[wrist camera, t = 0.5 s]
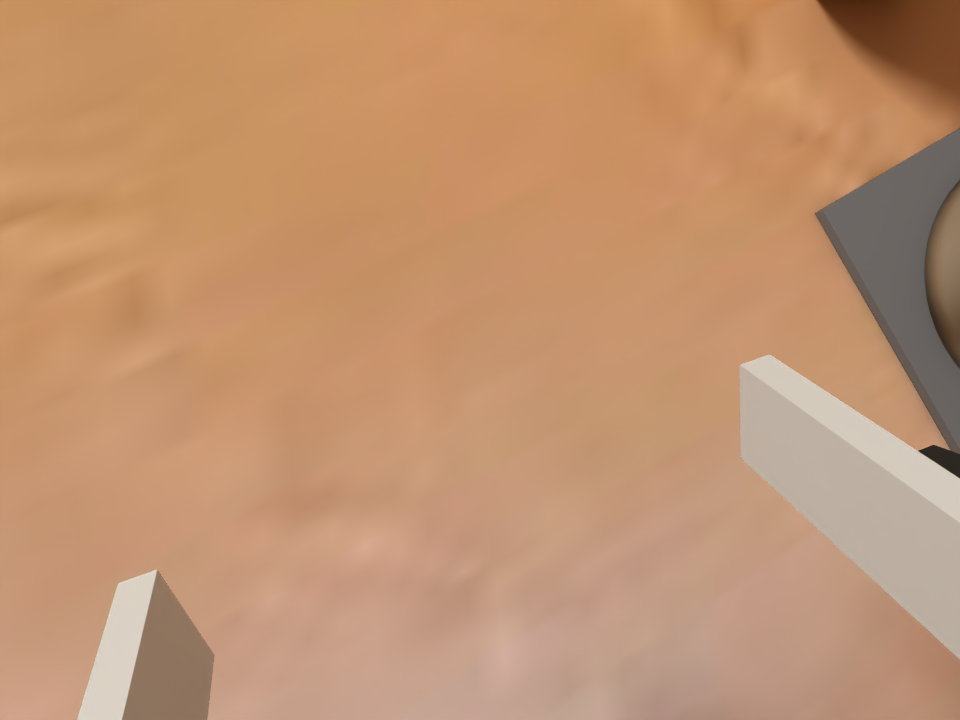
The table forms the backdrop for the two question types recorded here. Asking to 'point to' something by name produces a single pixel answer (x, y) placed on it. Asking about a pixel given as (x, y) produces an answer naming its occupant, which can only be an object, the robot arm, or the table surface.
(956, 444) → the mat
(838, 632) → the table surface
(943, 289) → the lid
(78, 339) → the table surface
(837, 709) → the table surface
